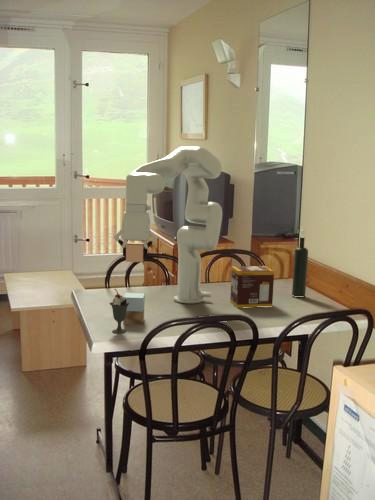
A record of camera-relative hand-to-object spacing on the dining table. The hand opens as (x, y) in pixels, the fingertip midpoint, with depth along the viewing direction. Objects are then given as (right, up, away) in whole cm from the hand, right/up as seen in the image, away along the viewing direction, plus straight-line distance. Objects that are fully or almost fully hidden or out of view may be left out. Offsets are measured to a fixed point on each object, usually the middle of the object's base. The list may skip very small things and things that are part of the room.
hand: (135, 258), depth 216 cm
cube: (0, -1, 0) cm, 1 cm away
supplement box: (+45, -20, +34) cm, 60 cm away
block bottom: (-1, -23, +4) cm, 24 cm away
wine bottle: (+68, -18, +51) cm, 87 cm away
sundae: (-5, -25, -9) cm, 27 cm away
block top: (-1, -18, +3) cm, 19 cm away
